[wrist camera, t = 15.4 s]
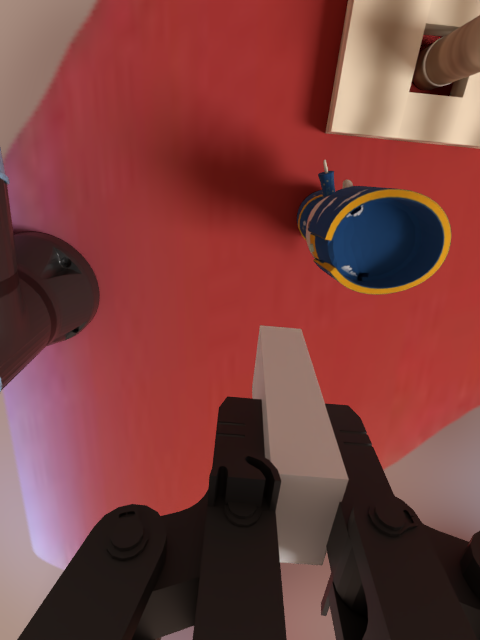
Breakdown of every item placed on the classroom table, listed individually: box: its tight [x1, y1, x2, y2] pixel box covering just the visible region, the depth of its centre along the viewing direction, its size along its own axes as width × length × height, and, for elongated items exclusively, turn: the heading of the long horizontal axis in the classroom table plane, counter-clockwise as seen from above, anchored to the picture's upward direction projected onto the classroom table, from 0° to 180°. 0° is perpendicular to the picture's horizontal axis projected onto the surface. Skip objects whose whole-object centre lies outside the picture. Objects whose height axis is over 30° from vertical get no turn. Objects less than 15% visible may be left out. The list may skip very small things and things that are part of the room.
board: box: [326, 0, 480, 149], centre depth 36 cm, size 20×14×3 cm
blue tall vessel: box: [297, 160, 451, 295], centre depth 35 cm, size 13×9×20 cm
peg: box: [412, 15, 480, 90], centre depth 32 cm, size 4×4×12 cm
